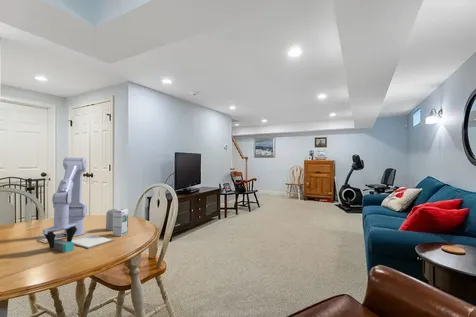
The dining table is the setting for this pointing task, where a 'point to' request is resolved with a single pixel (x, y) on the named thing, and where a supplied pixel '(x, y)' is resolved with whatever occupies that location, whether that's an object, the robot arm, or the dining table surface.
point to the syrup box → (120, 222)
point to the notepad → (90, 241)
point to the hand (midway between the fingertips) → (60, 245)
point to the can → (109, 220)
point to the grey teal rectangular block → (63, 245)
